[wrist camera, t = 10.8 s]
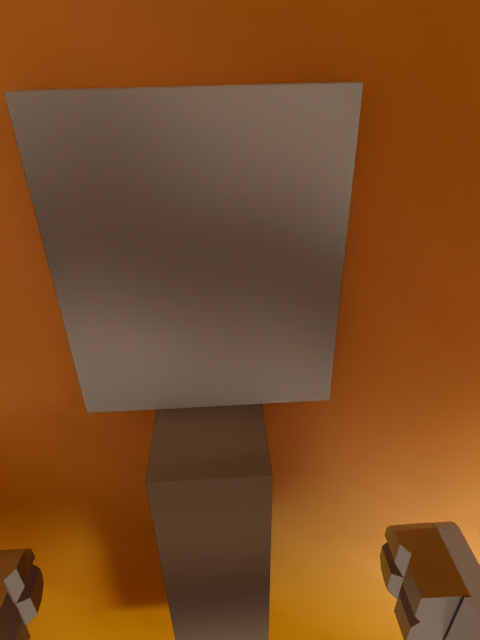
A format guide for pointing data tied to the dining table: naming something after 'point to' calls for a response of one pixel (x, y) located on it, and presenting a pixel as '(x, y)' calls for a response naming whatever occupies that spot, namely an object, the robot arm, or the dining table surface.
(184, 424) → the turner
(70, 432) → the dining table surface
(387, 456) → the dining table surface
